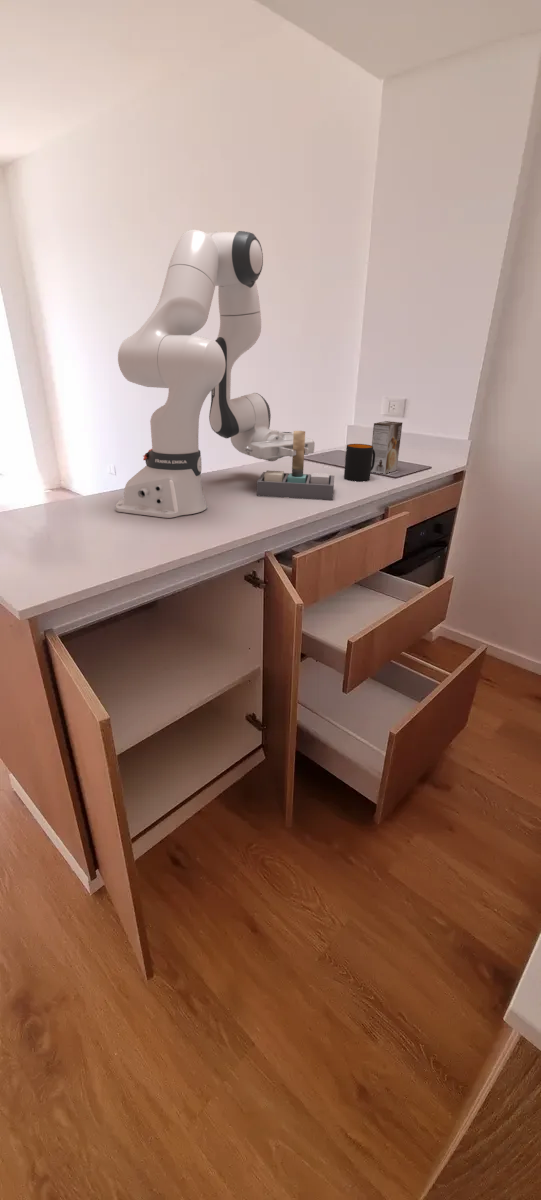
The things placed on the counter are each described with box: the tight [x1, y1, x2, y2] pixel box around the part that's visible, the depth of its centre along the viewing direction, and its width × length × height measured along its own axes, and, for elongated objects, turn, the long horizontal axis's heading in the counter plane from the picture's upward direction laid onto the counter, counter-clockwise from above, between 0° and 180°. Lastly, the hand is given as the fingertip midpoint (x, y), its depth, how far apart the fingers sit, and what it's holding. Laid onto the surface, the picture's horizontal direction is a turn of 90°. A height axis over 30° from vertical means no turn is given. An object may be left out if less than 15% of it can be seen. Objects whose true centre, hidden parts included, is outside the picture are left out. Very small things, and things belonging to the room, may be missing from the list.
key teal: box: [287, 473, 307, 483], centre depth 148 cm, size 5×5×3 cm
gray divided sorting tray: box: [256, 471, 335, 501], centre depth 148 cm, size 21×13×4 cm, turn 83°
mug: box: [343, 443, 375, 483], centre depth 166 cm, size 8×12×10 cm
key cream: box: [264, 470, 285, 482], centre depth 148 cm, size 5×5×3 cm
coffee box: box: [371, 420, 403, 475], centre depth 176 cm, size 9×6×16 cm
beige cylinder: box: [291, 430, 306, 477], centre depth 145 cm, size 3×3×12 cm
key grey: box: [310, 472, 330, 485], centre depth 147 cm, size 5×5×3 cm
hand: (300, 452), depth 144 cm, fingers closed on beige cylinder, 3 cm apart
